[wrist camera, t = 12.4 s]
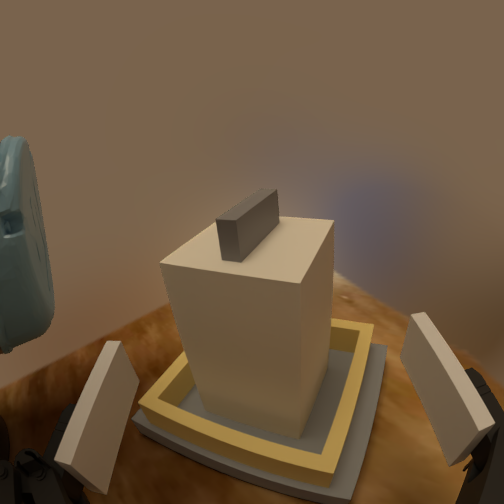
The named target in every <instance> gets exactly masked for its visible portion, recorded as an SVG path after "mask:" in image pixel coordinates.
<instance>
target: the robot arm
mask: <svg viewBox="0 0 504 504" xmlns="http://www.w3.org/2000/svg"><path fill="white" fill-rule="evenodd" d="M54 303H55V302H54V290H53V282H52V274H51V267H50V261H49V255H48V248H47V242H46V236H45V229H44V223H43V216H42V210H41V203H40V197H39V191H38V184H37V179H36V173H35V167H34V162H33V158H32V155H31V152H30V150H29V145H28V142H27V140H26V139H25V138H23V137H20V136H19V137H12V136H10V135H9V136H7V137H6V138H4V139H3V140H2V141H1V142H0V354H3V353H4V354H7V353H10V352H11V351H12V350H13V348H14V347H16V346H19V345H21V344H23V343H26V342H28V341H31V340H33V339H35V338H38V337H40V336H41V335H43V334H44V333H45V332H46V331H47V329H48V328H49V327H50V324H51V320H52V319H53V316H54V308H55V306H54V305H55V304H54ZM400 359H401V361H402V363H403V365H404V367H405V369H406V371H407V373H408V375H409V377H410V379H411V381H412V383H413V386H414V388H415V390H416V392H417V394H418V396H419V398H420V400H421V403H422V405H423V407H424V409H425V411H426V413H427V416H428V418H429V420H430V422H431V425H432V427H433V429H434V432H435V434H436V436H437V439H438V441H439V443H440V446H441V448H442V451H443V453H444V456H445V458H446V461H447V463H448V466H449V467H450V466H452V465H455V464H457V463H459V462H461V461H464V460H465V459H466V458H467V457H468V456H469V454H470V453H471V455H472V457H473V459H472V460H471V461H470V462H469V463H468V464H467V465H466V466H465V467H464V469H463V471H465V470H466V469H467V468H468V467H469V468H468V471H467V474H466V477H465V480H464V482H463V485H462V488H461V491H460V493H459V496H458V498H457V501H456V503H455V504H504V411H503V410H502V408H501V406H500V404H499V403H498V401H497V399H496V398H495V396H494V395H493V393H491V390H490V388H489V386H488V385H486V384H487V383H486V382H485V380H484V379H483V377H482V376H481V374H480V373H478V372H477V371H476V370H474V369H473V368H469V369H466V370H464V369H463V367H462V366H461V364H460V363H459V361H458V360H457V358H456V357H455V355H454V354H453V352H452V351H451V349H450V348H449V346H448V345H447V343H446V342H445V340H444V339H443V337H442V336H441V334H440V333H439V331H438V330H437V329H436V327H435V326H434V324H433V323H432V321H431V320H430V319H429V317H428V316H427V314H426V313H425V312H422V313H417V314H411V316H410V320H409V324H408V329H407V333H406V337H405V340H404V344H403V348H402V352H401V355H400ZM138 384H139V379H138V377H137V375H136V373H135V371H134V369H133V367H132V364H131V362H130V360H129V358H128V356H127V354H126V352H125V349H124V347H123V345H122V343H121V341H107V342H106V344H105V346H104V348H103V350H102V352H101V354H100V356H99V358H98V360H97V362H96V364H95V366H94V368H93V370H92V372H91V374H90V376H89V378H88V381H87V383H86V385H85V387H84V389H83V391H82V394H81V396H80V398H79V400H78V403H77V405H76V404H69V405H68V406H67V407H66V408H65V409H64V410H63V411H62V413H61V416H60V418H59V420H58V423H57V425H56V427H55V431H53V434H52V436H51V438H50V441H49V443H48V446H47V448H46V451H45V453H44V455H43V457H42V456H41V455H40V454H39V453H38V452H36V451H35V450H34V449H30V448H27V449H23V450H22V451H20V452H19V453H18V454H17V456H16V458H15V461H14V466H13V465H12V464H11V463H10V462H8V458H9V437H8V432H7V428H6V425H5V423H4V421H3V419H2V417H1V416H0V504H90V503H89V501H88V499H87V497H86V495H85V493H84V492H83V491H82V490H83V487H84V486H85V487H86V488H88V489H89V490H90V491H93V492H96V493H100V494H105V495H107V492H108V488H109V484H110V480H111V476H112V472H113V468H114V465H115V461H116V457H117V454H118V450H119V447H120V443H121V440H122V436H123V433H124V429H125V426H126V423H127V419H128V416H129V413H130V409H131V406H132V403H133V400H134V397H135V394H136V390H137V387H138Z"/></svg>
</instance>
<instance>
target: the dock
mask: <svg viewBox="0 0 504 504" xmlns="http://www.w3.org/2000/svg"><path fill="white" fill-rule="evenodd" d="M373 327H374V324H367V323H360V322H353V321H347V320H340V319H333V318H331V331H330V345H329V357H328V367H327V370H326V373H325V376H324V378H323V381H322V384H321V387H320V389H319V392H318V395H317V397H316V400H315V402H314V405H313V408H312V410H311V413H310V415H309V418H308V420H307V422H306V425H305V427H304V430H303V432H302V434H301V437H300V439H295V438H291V437H287V436H283V435H279V434H276V433H272V432H269V431H265V430H262V429H258V428H255V427H252V426H249V425H245V424H242V423H239V422H236V421H233V420H230V419H227V418H224V417H222V416H219V415H216V414H213V413H211V412H208V411H205V408H204V406H203V403H202V400H201V398H200V395H199V392H198V389H197V386H196V384H195V381H194V378H193V375H192V372H191V369H190V366H189V363H188V360H187V357H186V354H185V351H183V352H182V354H181V355H180V356H179V357H178V358H177V359H176V360H175V361H174V362H173V364H172V365H171V366H170V367H169V368H168V369H167V370H166V371H165V373H164V374H163V375H162V376H161V377H160V378H159V379H158V380H157V381H156V383H155V384H154V385H153V386H152V387H151V388H150V389H149V390H148V391H147V393H146V394H145V395H144V396H143V397H142V398H141V399H140V400H139V401H138V404H139V406H140V409H139V410H138V412H137V413H136V414H135V415H134V416H133V417H132V418H131V420H132V421H133V423H134V424H135V426H136V427H137V428H138V430H139V431H140V433H142V434H144V435H146V436H147V437H149V438H151V439H153V440H155V441H156V442H158V443H160V444H162V445H164V446H166V447H168V448H170V449H172V450H174V451H176V452H178V453H180V454H182V455H184V456H186V457H188V458H190V459H192V460H195V461H197V462H199V463H201V464H204V465H206V466H208V467H210V468H213V469H215V470H218V471H220V472H222V473H225V474H228V475H230V476H233V477H235V478H238V479H241V480H243V481H246V482H249V483H252V484H255V485H258V486H261V487H264V488H267V489H270V490H273V491H276V492H280V493H283V494H287V495H290V496H294V497H298V498H301V499H305V500H310V501H314V502H318V503H323V504H348V503H349V502H350V500H351V497H352V494H353V491H354V488H355V485H356V482H357V479H358V476H359V473H360V469H361V466H362V463H363V459H364V456H365V452H366V448H367V445H368V441H369V437H370V433H371V429H372V425H373V421H374V416H375V412H376V407H377V403H378V398H379V393H380V388H381V382H382V377H383V371H384V365H385V359H386V352H387V345H380V344H373V343H371V339H372V333H373Z"/></svg>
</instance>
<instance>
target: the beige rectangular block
mask: <svg viewBox="0 0 504 504" xmlns="http://www.w3.org/2000/svg"><path fill="white" fill-rule="evenodd" d="M159 264H160V268H161V271H162V276H163V279H164V283H165V287H166V290H167V294H168V298H169V301H170V305H171V308H172V312H173V315H174V319H175V322H176V325H177V329H178V332H179V335H180V338H181V342H182V345H183V348H184V351H185V354H186V357H187V360H188V363H189V366H190V369H191V372H192V375H193V378H194V381H195V384H196V386H197V389H198V392H199V395H200V398H201V400H202V403H203V406H204V408H205V411H208V412H211V413H213V414H216V415H219V416H222V417H224V418H227V419H230V420H233V421H236V422H239V423H242V424H245V425H249V426H252V427H255V428H258V429H262V430H265V431H269V432H272V433H276V434H279V435H283V436H287V437H291V438H295V439H300V437H301V434H302V432H303V430H304V427H305V425H306V422H307V420H308V418H309V415H310V413H311V410H312V408H313V405H314V402H315V400H316V397H317V395H318V392H319V389H320V387H321V384H322V381H323V378H324V376H325V373H326V370H327V367H328V357H329V345H330V331H331V315H332V296H333V269H334V220H322V219H309V218H293V217H279V207H278V194H277V189H260V190H258V191H257V192H255V193H253V194H252V195H251V196H249V197H247V198H246V199H245V200H243V201H241V202H240V203H239V204H237V205H236V206H234V207H233V208H231V209H230V210H228V211H227V212H225V213H224V214H222V215H221V216H219V217H218V218H216V222H215V223H213V224H212V225H211V226H209V227H208V228H206V229H205V230H204V231H202V232H201V233H199V234H198V235H196V236H195V237H194V238H192V239H191V240H189V241H188V242H187V243H185V244H184V245H182V246H181V247H180V248H178V249H177V250H176V251H174V252H173V253H171V254H170V255H169V256H168V257H166V258H165V259H163V260H162V261H161V262H160V263H159Z"/></svg>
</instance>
